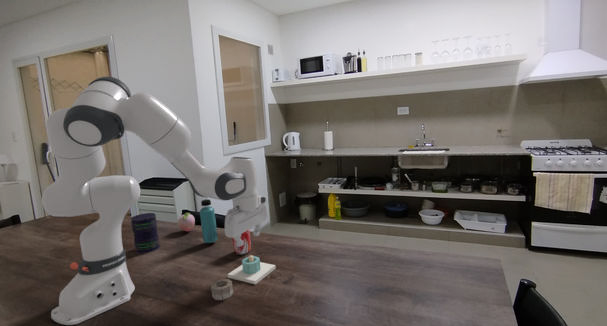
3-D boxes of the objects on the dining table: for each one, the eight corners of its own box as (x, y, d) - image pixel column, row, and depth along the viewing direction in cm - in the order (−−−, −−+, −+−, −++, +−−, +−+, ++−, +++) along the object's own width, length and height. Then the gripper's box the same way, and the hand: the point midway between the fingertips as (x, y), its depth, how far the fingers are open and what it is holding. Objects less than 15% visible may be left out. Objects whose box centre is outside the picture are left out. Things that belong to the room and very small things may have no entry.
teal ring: (253, 275, 110) (252, 265, 109) (239, 271, 113) (238, 262, 112) (263, 267, 115) (262, 257, 114) (250, 264, 118) (249, 255, 117)
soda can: (230, 254, 131) (227, 226, 129) (241, 247, 137) (238, 220, 135) (244, 256, 128) (241, 227, 126) (254, 249, 134) (252, 222, 132)
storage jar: (164, 244, 146) (160, 212, 144) (152, 253, 137) (147, 219, 134) (143, 244, 147) (139, 213, 145) (130, 253, 138) (125, 220, 135)
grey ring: (228, 300, 98) (227, 289, 97) (209, 299, 98) (208, 288, 98) (235, 289, 103) (234, 279, 103) (217, 289, 104) (216, 278, 104)
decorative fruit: (179, 230, 164) (176, 211, 163) (196, 227, 167) (193, 208, 165) (178, 236, 155) (175, 216, 154) (195, 233, 158) (193, 213, 156)
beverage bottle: (216, 245, 140) (211, 201, 137) (201, 246, 141) (195, 202, 138) (220, 240, 147) (215, 197, 144) (205, 240, 147) (201, 198, 144)
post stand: (255, 284, 106) (253, 266, 105) (227, 277, 112) (226, 260, 111) (275, 268, 116) (274, 252, 115) (249, 262, 122) (248, 247, 121)
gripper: (233, 212, 101) (237, 253, 103) (269, 195, 119) (271, 231, 121) (218, 210, 104) (222, 250, 106) (255, 194, 122) (258, 229, 124)
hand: (248, 240), depth 113 cm, fingers open, 8 cm apart
